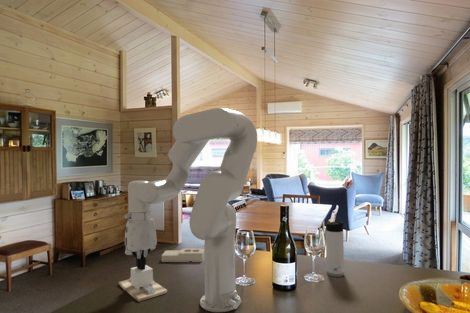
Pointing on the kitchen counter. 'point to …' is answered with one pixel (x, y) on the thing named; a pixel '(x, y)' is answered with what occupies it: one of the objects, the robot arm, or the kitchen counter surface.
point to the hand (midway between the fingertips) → (141, 268)
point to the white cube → (141, 277)
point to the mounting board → (141, 294)
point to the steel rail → (147, 288)
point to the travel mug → (334, 249)
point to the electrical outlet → (183, 255)
